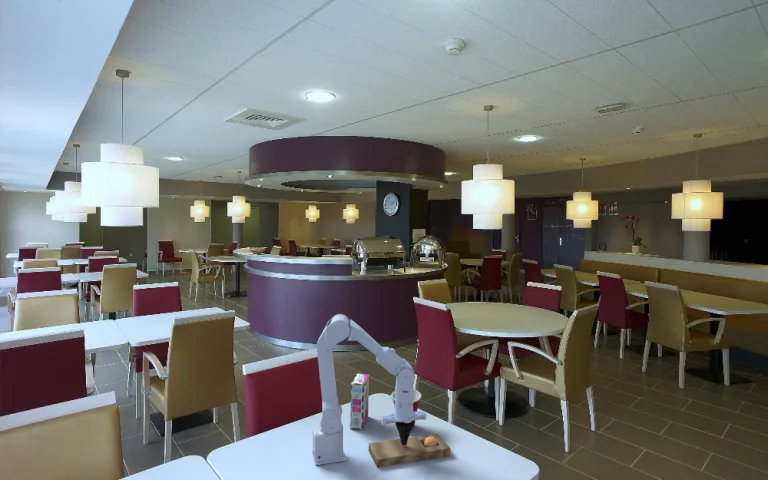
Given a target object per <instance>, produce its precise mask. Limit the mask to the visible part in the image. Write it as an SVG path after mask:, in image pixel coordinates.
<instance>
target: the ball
mask: <svg viewBox="0 0 768 480" xmlns="http://www.w3.org/2000/svg"><path fill="white" fill-rule="evenodd" d="M424 445H425V447H432V446H436V445H437V442H436V440H435V438H433V437H427V438H426V439H425V441H424Z"/></svg>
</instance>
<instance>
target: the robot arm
mask: <svg viewBox="0 0 768 480" xmlns="http://www.w3.org/2000/svg"><path fill="white" fill-rule="evenodd" d="M346 339H347V342H352V341H354V342H355V341H356V342H358V343H359V344H360V345H362V346H363V347H364V348H366V349H367V350H368V351H369V352H371V354H373V355H374V356H375V361H376V362H377V363H378V364H379V365H380V366H381V367H382V368H384V369H385V371H387V372H388V373H389V374H391V375H393V376H395V386H394V387H395V389H394V391H395V406H394V412H393V413H390V414H388V415H384V416H381V417H380V423H381V425H382V426H386V425H387V424H389V425H390V424H394V425H395V426H396V430H397V432H398V435H399V436H398V437H399V439H400V442H401V444H402V446H404V445H407V441H408V438H409V437H410V435H411V433H412V430H414V428H415V426H414V423H413V420H415V421H418V420H419V421H421V420H422V421H426V420H427V413H426V412H425V411H423V410H422V411H417V412H413V389H414V382H415V380H416V376H415V371H414V369H413V367H412V365H411V363H410V362H409V361H407V359H405V358H402V357H400V356H399V355H398V354H397V353H396V349H394V347H389V346H382V345H381V344H379V343H378V342H377V341H376V340H375V339H374V338H373V337H372V336H370V334H369V333H368V332H367V331H365V329H363V328H362V327H361V326H360V325H358V323H356V322H355V321H354V320H353V319H351V318H349V317H348V316H347V315H345V314H343V313H337V314H335V315H334V316H332V317H331V318H330V319H329V320H328V321H327V323H326V325H325V327H324V329H323V331H322V332H321V334H320V336H319V337H318V340H317V342H316V353H317V355H316V356H317V363H318V371H319V382H320V390H321V391H320V393H321V405H322V406H321V407H322V410H321V411H322V412H321V414H322V415H321V419H320V426H319V428H317V429H314V430H313V431H312V450H311V451H312V456H313V460H314V464H315V466H320V465H327V464H333V463H341V462H345V461H347V457H346V454H345V452H344V425H343V423H342V415H343V409H342V406H341V405H340V403H339V399H338V392H337V383H336V375H335V374H336V373H335V366H334V365H335V364H334V363H335V362H334V356H333V355H334V354H333V348H335V346H337V344H339V343H341V342H343V341H344V340H346ZM413 427H414V428H413Z"/></svg>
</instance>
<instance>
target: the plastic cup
mask: <svg viewBox="0 0 768 480" xmlns="http://www.w3.org/2000/svg"><path fill="white" fill-rule="evenodd" d="M390 396H391V399H392V401H393V404H394V407H395V390H394V391H393V392H392V393H391V394H390ZM421 398H422V394H421V392H419V390H416V389H414V388H413V412H418V409H419V404H420V400H421ZM413 423H414V427H413V429H414V428H415V425H416V420H413Z"/></svg>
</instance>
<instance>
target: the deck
mask: <svg viewBox="0 0 768 480" xmlns="http://www.w3.org/2000/svg"><path fill="white" fill-rule="evenodd" d="M427 437H433V438H435V440H436V442H437V445H436V446H432V447H425V445H424V441H425V439H426V438H427ZM368 452H369V455H370V457H371V458H372V461H373V463H374V464H375V466H376V468H378V469H379V468H385V467H391V466H395V465H403V464H409V463H414V462H415V463H416V462H421V461H422V462H423V461H427V460H434V459H440V458H445V457H450V456H451V447H450V445H448V444H447V443H446V441H445V440H444V439H443V438H442V437H441V435H440V434H439V433H431V434H423V435H415V436H411V437H410V436H409V438H408V441H407V445H404V446H402V444H401V442H400V438H397V439H388V440H382V441H381V440H380V441H376V442H368Z"/></svg>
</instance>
